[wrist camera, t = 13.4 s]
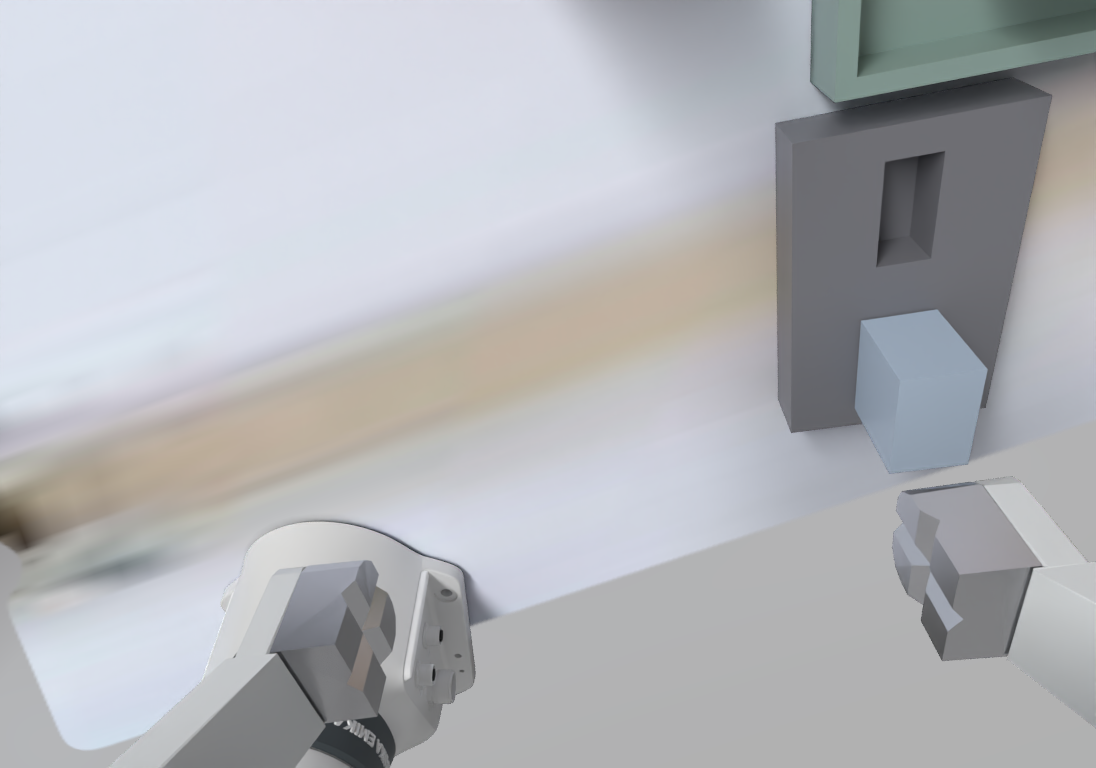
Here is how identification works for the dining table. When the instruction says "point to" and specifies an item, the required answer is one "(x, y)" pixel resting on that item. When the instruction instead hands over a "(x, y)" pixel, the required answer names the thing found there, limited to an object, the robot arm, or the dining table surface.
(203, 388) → the dining table surface
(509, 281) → the dining table surface
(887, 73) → the parts tray
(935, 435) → the block
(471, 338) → the dining table surface
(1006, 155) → the fuse block
